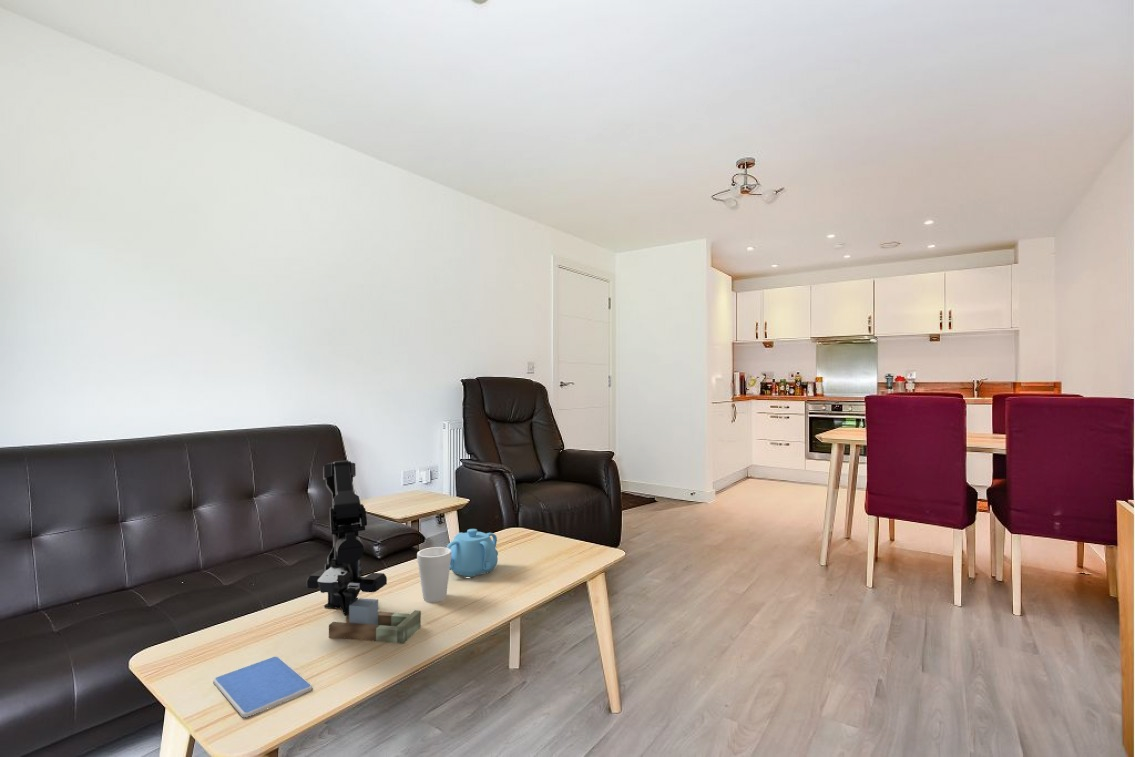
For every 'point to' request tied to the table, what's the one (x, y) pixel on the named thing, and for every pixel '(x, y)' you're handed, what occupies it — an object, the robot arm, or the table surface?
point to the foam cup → (434, 572)
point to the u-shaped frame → (379, 628)
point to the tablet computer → (261, 686)
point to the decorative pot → (473, 553)
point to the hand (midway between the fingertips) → (347, 615)
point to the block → (364, 611)
